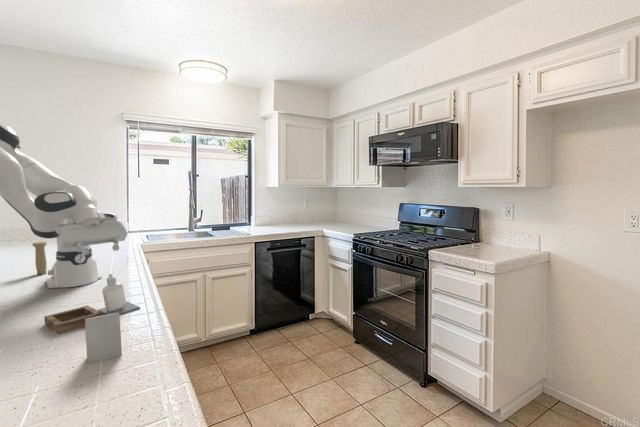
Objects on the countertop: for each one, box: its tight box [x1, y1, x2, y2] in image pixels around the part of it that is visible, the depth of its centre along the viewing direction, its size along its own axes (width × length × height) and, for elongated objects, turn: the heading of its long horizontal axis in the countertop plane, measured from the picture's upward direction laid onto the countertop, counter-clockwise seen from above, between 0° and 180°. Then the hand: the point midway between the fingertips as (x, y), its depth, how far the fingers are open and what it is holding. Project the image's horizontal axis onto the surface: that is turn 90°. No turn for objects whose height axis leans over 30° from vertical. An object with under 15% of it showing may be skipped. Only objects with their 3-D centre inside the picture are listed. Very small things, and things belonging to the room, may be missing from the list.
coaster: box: [97, 301, 141, 316], centre depth 108 cm, size 9×9×1 cm
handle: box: [32, 240, 48, 276], centre depth 152 cm, size 5×6×15 cm
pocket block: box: [43, 305, 103, 335], centre depth 98 cm, size 11×11×2 cm
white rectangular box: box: [84, 313, 123, 365], centre depth 78 cm, size 4×7×10 cm, turn 125°
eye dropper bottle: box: [102, 273, 127, 312], centre depth 105 cm, size 4×6×12 cm
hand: (102, 251), depth 114 cm, fingers open, 8 cm apart
